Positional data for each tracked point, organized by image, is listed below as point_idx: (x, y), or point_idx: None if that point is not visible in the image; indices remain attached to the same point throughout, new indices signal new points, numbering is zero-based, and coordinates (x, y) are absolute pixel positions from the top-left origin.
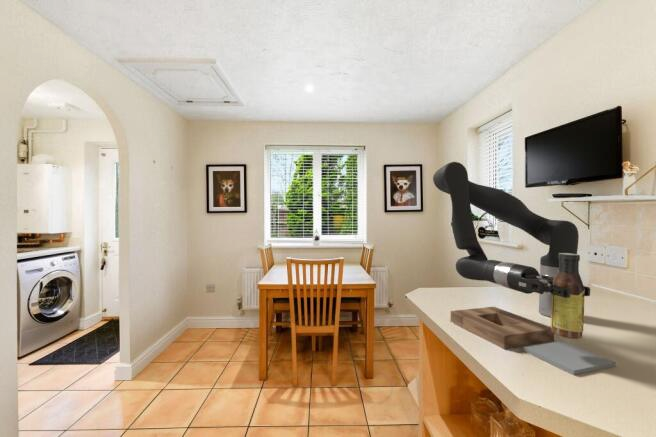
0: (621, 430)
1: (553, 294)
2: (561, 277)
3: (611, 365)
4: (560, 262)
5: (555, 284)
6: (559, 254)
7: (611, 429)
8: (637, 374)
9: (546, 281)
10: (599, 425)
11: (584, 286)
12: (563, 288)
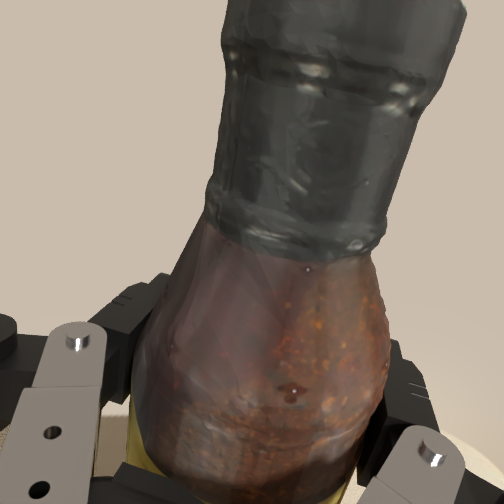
0: (455, 438)
1: (338, 498)
2: (382, 302)
3: None
4: (404, 144)
5: (376, 404)
6: (458, 13)
7: (473, 449)
8: (124, 438)
9: (392, 488)
10: (488, 465)
11: (165, 284)
12: (400, 359)
